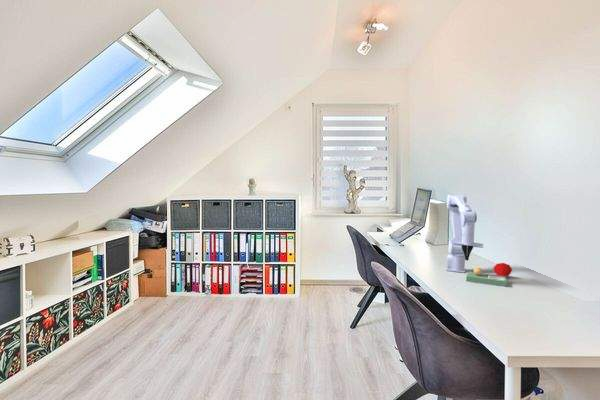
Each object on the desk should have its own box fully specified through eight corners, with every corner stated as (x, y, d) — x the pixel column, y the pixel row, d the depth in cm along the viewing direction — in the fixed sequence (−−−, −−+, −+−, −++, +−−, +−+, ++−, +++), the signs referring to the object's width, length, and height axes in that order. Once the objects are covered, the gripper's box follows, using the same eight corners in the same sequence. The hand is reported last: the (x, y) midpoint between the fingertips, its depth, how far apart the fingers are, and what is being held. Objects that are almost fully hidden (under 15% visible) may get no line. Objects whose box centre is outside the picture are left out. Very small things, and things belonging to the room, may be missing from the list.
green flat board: (466, 281, 187) (466, 276, 186) (467, 276, 196) (468, 271, 196) (506, 286, 178) (506, 281, 178) (506, 281, 188) (506, 276, 187)
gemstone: (517, 279, 186) (515, 267, 194) (500, 270, 187) (500, 259, 195) (505, 289, 191) (505, 277, 199) (490, 281, 193) (490, 269, 200)
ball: (473, 275, 188) (473, 268, 188) (473, 273, 192) (474, 266, 191) (481, 276, 186) (482, 269, 186) (482, 274, 190) (482, 267, 189)
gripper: (452, 234, 190) (451, 259, 191) (483, 236, 183) (481, 263, 184) (453, 232, 196) (452, 257, 197) (483, 234, 189) (482, 260, 190)
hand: (466, 260), depth 191 cm, fingers closed
